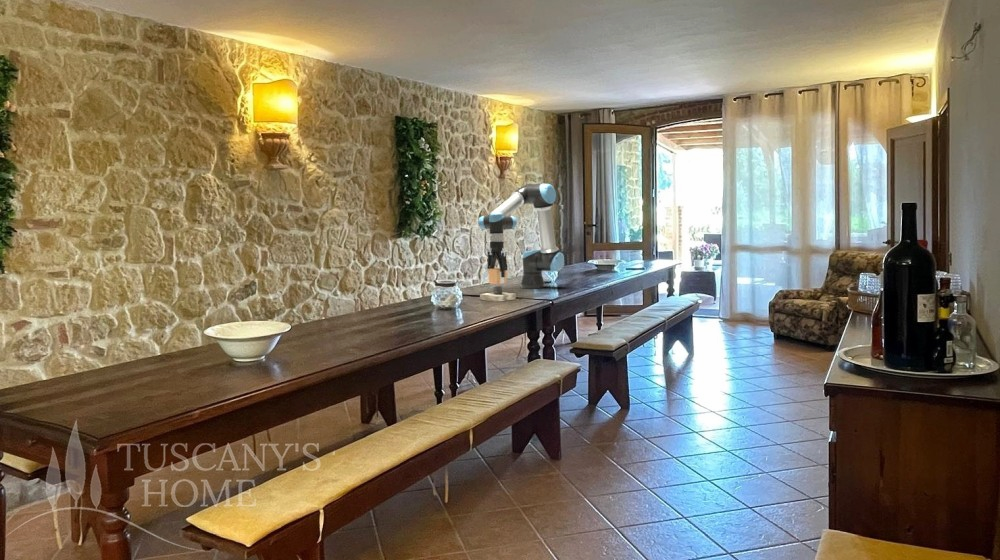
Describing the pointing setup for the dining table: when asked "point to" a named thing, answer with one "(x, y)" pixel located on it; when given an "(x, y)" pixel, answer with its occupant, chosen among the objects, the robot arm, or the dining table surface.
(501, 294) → the hub
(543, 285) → the robot arm
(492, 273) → the orange block
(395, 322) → the dining table surface
